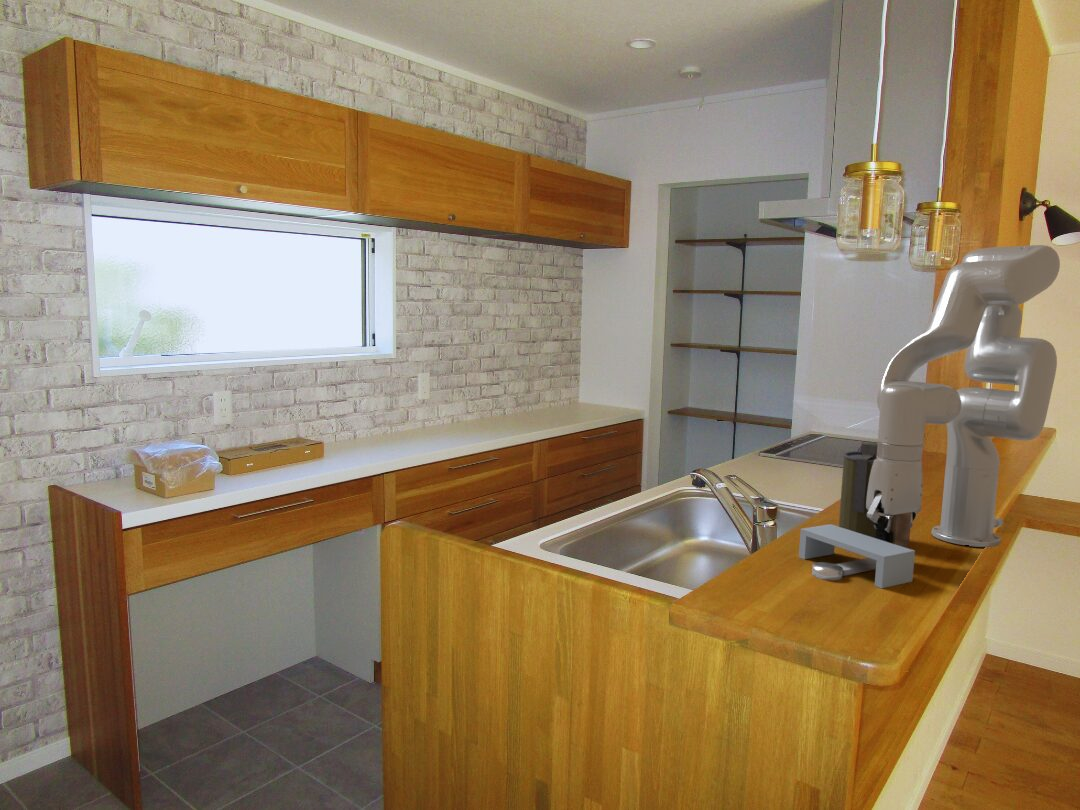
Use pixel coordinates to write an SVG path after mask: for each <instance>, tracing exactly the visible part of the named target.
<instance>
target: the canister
mask: <svg viewBox="0 0 1080 810" xmlns="http://www.w3.org/2000/svg"><path fill="white" fill-rule="evenodd" d="M877 443H878V441H866V442H865V441H864V442H861V445H860V447H859V448H858V449H857V451H847V452H844V453H843V454H842V456H843V463H842V477H841V478H842V480H841V491H840V503H839V505H840V506H839V519H838V527H841V528H844V529H847V530H851V531H854V532H857V533H860V534H863V535H867V536H870V537H873V538H876V529H875V528H874V523H873V522H872V521H871V520H870V519H869V518H868V517H867V512H868V510H867V508H866V499H867V491H868V484H869V478H870V473H871V469H872V465H873V462H874V459H876V456H877Z"/></svg>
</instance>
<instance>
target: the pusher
mask: <svg viewBox="0 0 1080 810" xmlns="http://www.w3.org/2000/svg"><path fill="white" fill-rule="evenodd" d="M883 513H884V510H883ZM882 518H883V519H884V521H885V522H886V519H887V517H882ZM910 523H911V512H908V513H902V514H897V515H894V518H893V523H892V528H891V532H893V542H892V544H895V545H898V546H902V547H905V548H909V547H910V538H909V535H911V528H910ZM909 549H910V548H909ZM876 561H877V560H875V559H872V558H869V557H865V558H861V559H856V560H850V561H845V562H841V563H840V562H839V563H835V564H836V565H839V566H841V567H842V568H843V575H842V577H844V576H845V577H847V576H850V575H855V574H859V573H864V572H868V571H869V572H870V571H873V570H876Z"/></svg>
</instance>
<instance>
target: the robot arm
mask: <svg viewBox="0 0 1080 810" xmlns="http://www.w3.org/2000/svg"><path fill="white" fill-rule="evenodd" d="M1060 267H1061V263H1060V257H1059V255H1058V252H1057V251H1056V250H1055V248H1053V247H1051V246H1049V245H1044V244H1043V245H1042V244H1035V245H1034V244H1033V245H1018V246H1017V245H1016V246H995V247H993V246H992V247H983V248H977V249H974V250H972V251H969V252H968V253H966V254H965V255H964V256H963V258H962V259H961V263H958V264H956V265H954V266H952V267H951V268H950V269H949V270H948V271H947V273H946V276H945V278H944V281H943V283H942V285H941V288H940V290H939V293H938V297H937V300H936V302H935V304H934V307H933V310H932V313H931V315H930V318H929V321H928V322H927V323H928V324H927V327H926V328H925V329H924V330H923V331H922V332H921V333H920V334H918V335H917V336H915V337H914V338H912V339H911V340H910V341H908V342H907V343H906V344H905V345H904V346H902V347H901V348H900V349H899V350H898V351H897V352H896V353H895V355H894V356H892V357H891V358H890V360H889V362H888V364H887V366H886V369H885V371H884V374H883V377H882V379H881V382H880V384H879V388H878V390H877V391H878V392H877V397H876V404H877V408H878V410H879V417H878V418H879V420H878V431H877V432H878V433H877V456H876V459H874V462H873V465H872V469H871V473H870V478H869V484H868V491H867V499H866V508H867V510H868V512H867V517H868V518H869V519H870V520H871V521H872V522H873V523H874V528H875V529H876V539H879V540H882V541H886V542H889V543H892V542H893V532H891V528H892V523H893V518H894V515H897V514H902V513H908V512H911V523H910V529H912V528H913V525H914V520H915V519H916V517H917V515H918V514H919V513H920V512H921V510H922V498H923V465H922V461H923V460H922V459H923V447H924V437H925V435H924V434H925V426H926V425H925V424H930V425H945V424H946V432H947V441H946V442H947V447H946V457H945V458H946V459H945V469H944V470H945V471H944V482H943V490H942V491H943V493H942V506H941V516H940V525H935V526H933V527H931V535H932V536H933V537H934V538H936V539H938V540H941V541H943V542H948V543H950V544H951V543H952V544H956V545H960V546H965V545H969V546H968V547H974V548H976V547H977V548H992V547H997V546H999V545H1001V543H1002V539H1001V537H1000V535H998V534H996V533H994V529H995V528H998V527H1002V526H1003V524H1004V520H1003V519H1002V517H995V513H996V501H997V494H998V493H997V492H998V491H997V490H998V482H999V470H1000V453H999V451H998V449H997V447H996V445H995V444H994V442H993V441H992V439H991V437H992V438H999V439H1009V440H1016V441H1033V440H1035V439H1036V438H1037V437H1038V436H1040V434H1041V433H1042V431H1043V428H1044V427H1045V423H1046V420H1047V419H1046V418H1047V415H1048V411H1049V405H1050V402H1051V396H1052V392H1053V388H1054V387H1053V386H1054V382H1055V378H1056V373H1057V367H1058V357H1057V352H1056V349H1055V347H1054V345H1053V344H1052V343H1051V342H1050V341H1048V340H1046V339H1043V338H1038V337H1020V332H1021V325H1022V321H1023V313H1022V310H1021V308H1020V306H1019V305H1022V304H1025V303H1026V302H1028V301H1030V300H1031V299H1033V298H1035V297H1036V296H1037V295H1039V294H1041V293H1042V292H1044V291H1046V290H1047V289H1048V288H1050V287H1051V286H1052V285H1053V283H1054V282H1055V280H1056V278H1058V275H1059V272H1060ZM965 349H966V354H965V359H964V363H963V365H964V366H963V369H964V372H965V375H966V376H967V378H969V379H971V380H973V381H976V382H981V383H986V384H987V383H988V384H996V385H997V384H998V385H999V384H1000V385H1001V384H1002V385H1010V386H1011V385H1012V386H1018V390H1017V391H1016V390H1015V391H1014V390H1005V389H998V388H989V387H988V388H986V387H985V388H984V387H976V386H975V387H970V386H969V387H962V388H959V389H955V388H953V387H952V386H950V385H947V384H940V383H930V382H923V381H922V382H921V381H912V380H911V381H909V380H910V378H911V377H912V375H914V373H915V372H916V371H917V370H919V369H920V368H921V367H923V366H925V365H926V364H928V363H930V362H932V361H935V360H938V359H939V358H943V357H945V356H948V355H952V354H954V353H958V352H961V351H963V350H965ZM883 510H884V513H883ZM882 517H887V519H886V522H885V521H884V519H883V518H882ZM910 535H911V534H910ZM910 535H909V539H911V538H910ZM908 549H910V548H908Z"/></svg>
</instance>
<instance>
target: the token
mask: <svg viewBox="0 0 1080 810" xmlns="http://www.w3.org/2000/svg"><path fill="white" fill-rule="evenodd" d="M836 564H837V563H831V562H827V561H826V562H825V561H822V562H813V564H812V569H811V575H812V576H813V577H814V578H817V579H820V580H823V581H830V582H831V581H832V582H835V581H840V580H843V576H842V575H843V568H842V567H841V566H839V565H836Z"/></svg>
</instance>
